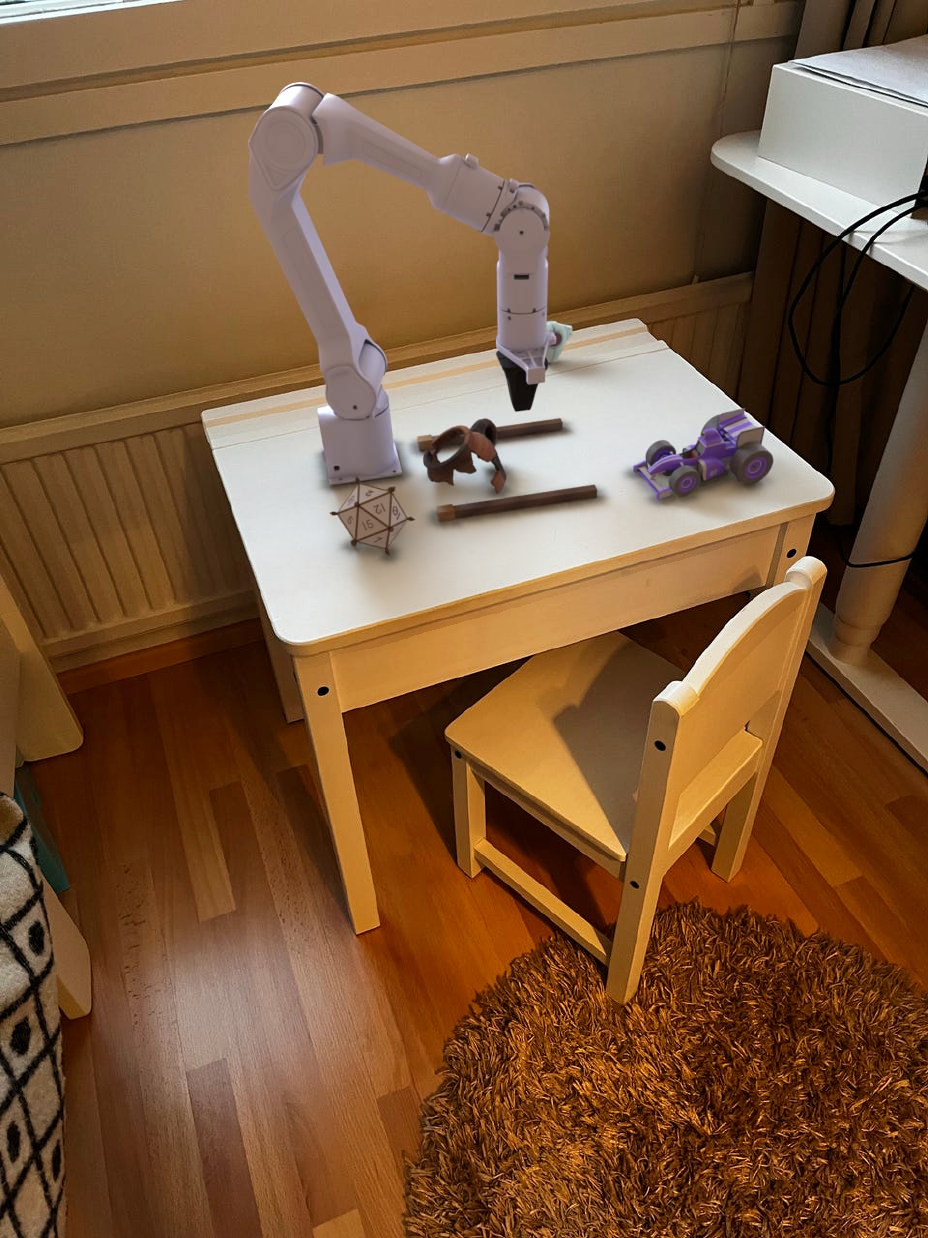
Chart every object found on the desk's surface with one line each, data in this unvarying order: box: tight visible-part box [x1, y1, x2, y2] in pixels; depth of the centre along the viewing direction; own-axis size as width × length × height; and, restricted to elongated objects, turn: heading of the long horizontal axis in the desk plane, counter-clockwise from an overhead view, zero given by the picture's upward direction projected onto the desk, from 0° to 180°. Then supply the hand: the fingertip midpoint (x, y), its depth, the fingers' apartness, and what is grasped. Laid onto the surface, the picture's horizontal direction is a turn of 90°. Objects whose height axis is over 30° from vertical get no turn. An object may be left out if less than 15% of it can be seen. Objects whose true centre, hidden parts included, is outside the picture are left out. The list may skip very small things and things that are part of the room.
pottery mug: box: [422, 418, 507, 494], centre depth 117 cm, size 12×10×8 cm
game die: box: [329, 477, 416, 556], centre depth 106 cm, size 9×8×10 cm
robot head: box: [546, 320, 574, 364], centre depth 137 cm, size 8×4×7 cm, turn 109°
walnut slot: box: [416, 417, 598, 523], centre depth 118 cm, size 20×18×1 cm
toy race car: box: [632, 407, 774, 501], centre depth 114 cm, size 10×15×6 cm, turn 109°
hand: (521, 408), depth 114 cm, fingers closed
